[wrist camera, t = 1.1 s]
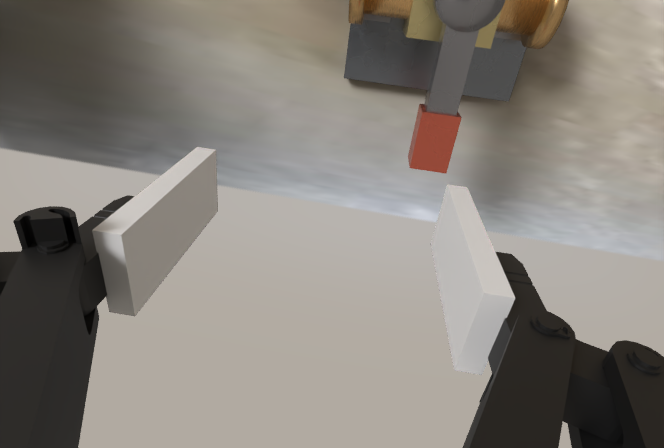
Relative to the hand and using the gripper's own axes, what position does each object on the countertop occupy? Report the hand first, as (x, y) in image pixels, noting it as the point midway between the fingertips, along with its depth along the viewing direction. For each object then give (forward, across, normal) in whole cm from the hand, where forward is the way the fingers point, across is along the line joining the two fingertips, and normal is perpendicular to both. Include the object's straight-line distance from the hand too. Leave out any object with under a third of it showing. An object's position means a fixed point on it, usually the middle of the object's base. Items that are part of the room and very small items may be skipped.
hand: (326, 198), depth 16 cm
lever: (+16, +6, +3) cm, 17 cm away
